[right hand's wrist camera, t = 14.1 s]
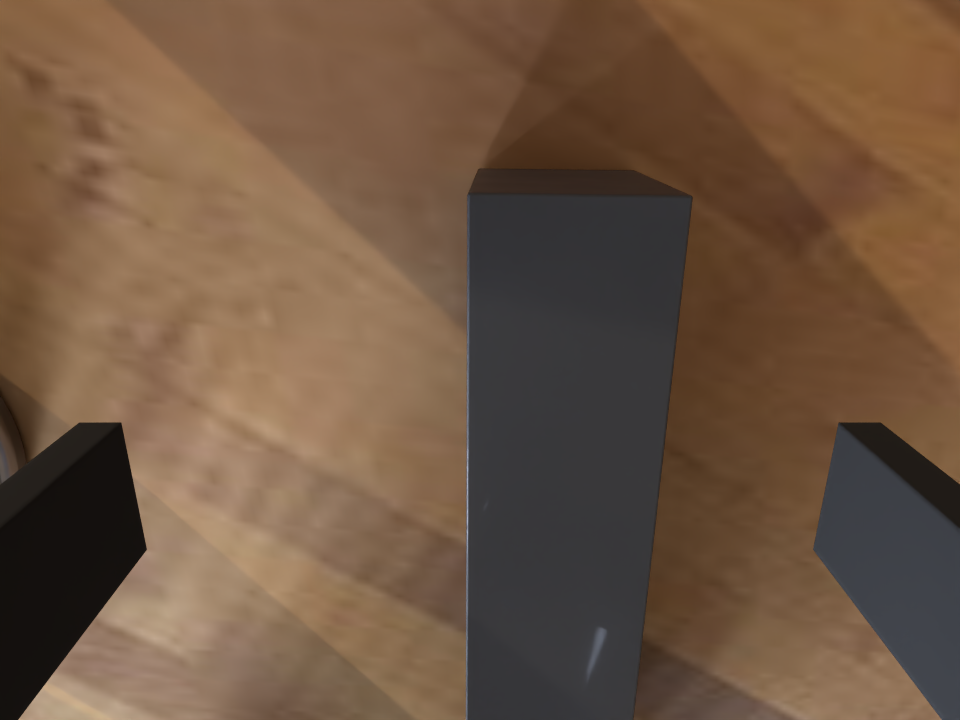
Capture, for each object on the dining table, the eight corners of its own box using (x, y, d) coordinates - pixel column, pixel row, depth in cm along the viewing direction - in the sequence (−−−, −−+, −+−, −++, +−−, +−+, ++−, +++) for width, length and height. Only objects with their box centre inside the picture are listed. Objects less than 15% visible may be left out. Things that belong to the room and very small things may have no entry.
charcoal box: (586, 749, 39) (610, 926, 30) (473, 745, 39) (465, 920, 31) (636, 170, 28) (693, 195, 20) (477, 168, 28) (467, 192, 20)
